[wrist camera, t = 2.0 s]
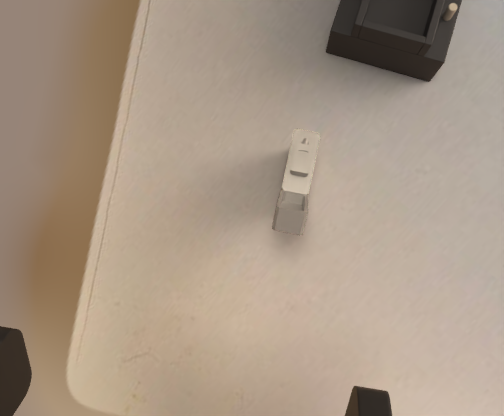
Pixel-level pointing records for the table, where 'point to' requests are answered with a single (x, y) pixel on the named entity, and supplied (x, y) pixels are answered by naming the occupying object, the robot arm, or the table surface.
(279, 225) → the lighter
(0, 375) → the robot arm
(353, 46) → the dark grey holder tray
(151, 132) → the table surface
